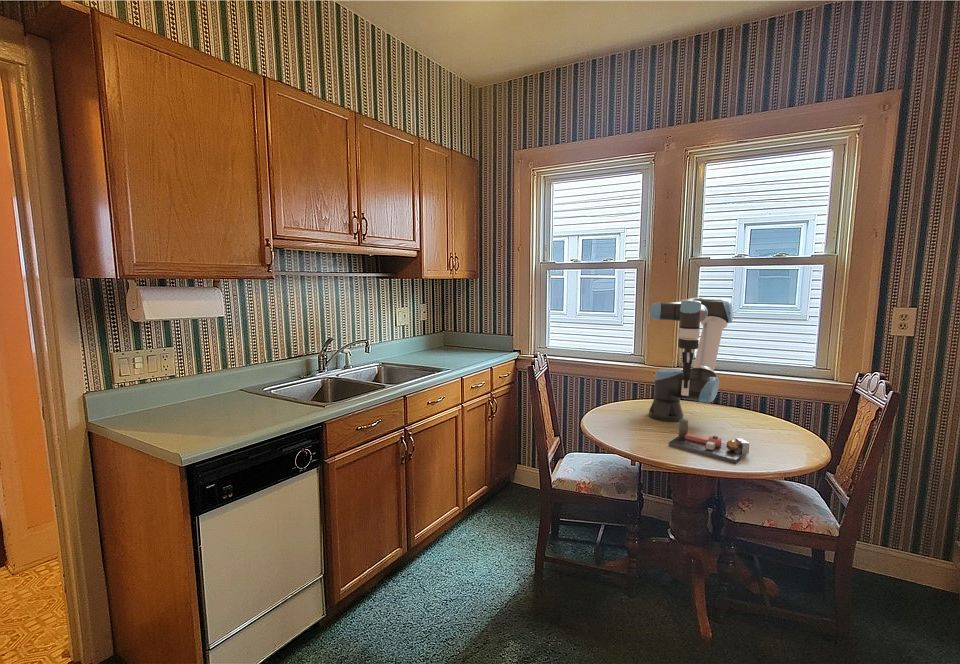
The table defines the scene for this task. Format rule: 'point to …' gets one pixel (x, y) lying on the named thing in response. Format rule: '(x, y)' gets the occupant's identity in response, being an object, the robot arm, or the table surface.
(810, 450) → the table surface
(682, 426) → the lever
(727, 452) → the base
